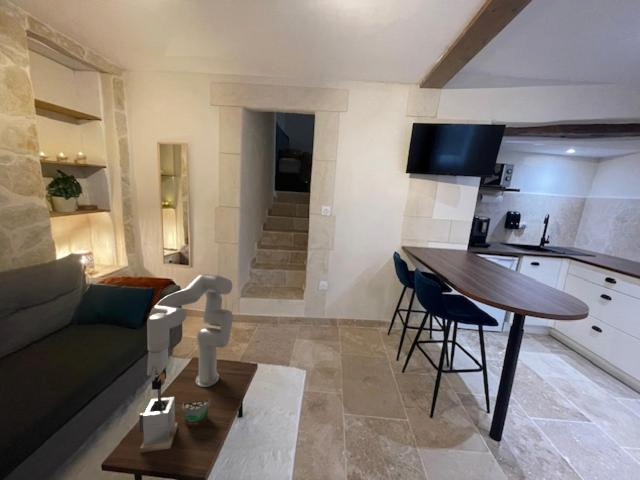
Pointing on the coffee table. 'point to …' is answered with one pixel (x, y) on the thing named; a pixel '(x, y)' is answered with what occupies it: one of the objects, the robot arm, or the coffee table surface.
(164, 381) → the plunger
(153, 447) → the base
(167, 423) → the press sleeve
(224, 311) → the robot arm
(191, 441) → the coffee table surface
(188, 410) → the food container
